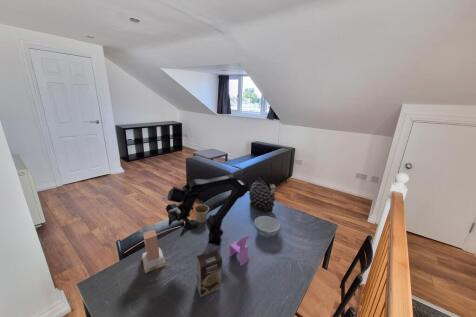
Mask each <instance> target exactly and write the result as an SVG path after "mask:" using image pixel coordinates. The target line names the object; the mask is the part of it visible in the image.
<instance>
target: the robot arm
mask: <svg viewBox="0 0 476 317" xmlns="http://www.w3.org/2000/svg"><path fill="white" fill-rule="evenodd" d="M228 185H231V190H230V194H229V195H228V196H227V198H226V199H225V200H224V202H223V203H222V205H221V206H220V207H219V209H218V210H217V212H216V213H215V214H210V215H209V216H208V218H206V221H205V226H206V228H207V230H208V244H210V245H215V246H220V245H221V243H222V239H223V237H222V236H223V234H224V230H223V228H222V224H223V220H224V218H225V217H227V214H228V213H229V211H231V209H232V207H234V205H235V204H236V202H237V201H238V199H240V198H242V197H244V196H245V195H246V194H247V192H248V191H249V187H248V185H247V184H246V183H245V182H244V181H243V180H241V179H238V178H235V177H234V176H233V175H232V174H227V175H223V176H218V177H212V178H208V179H202V178H199V179H198V178H194V179H191V180H190V181H189V182H188V183H186V184H185V185H184V186H182V188H179V187H177V186H173V187H172V188H171V189H170V190H169V191H168V195H167V201H170V202H173V203H170V204H167V205H166V207H165V210H166V213H167V217H168V226H171V225H172V224H173V222H176V221H177V222H180V221H184V223H183V225H182V228H183V229H182V231H181V232H180V234H179V237H183V236H184V235H185V234H186V233H187V232H188V231H193V230H196V229H198V226H199V224H198V223H199V222H197V220H194V219H193V218H192V219H189V217H190V216H191V214H190V213H191V211H194V205H195V202H196V201H197V200H202V198H201V194H203V193H205V192H206V191H207V190H210V189H214V188H219V187H224V186H228ZM177 203H178V204H177Z"/></svg>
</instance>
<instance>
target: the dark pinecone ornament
mask: <svg viewBox="0 0 476 317" xmlns="http://www.w3.org/2000/svg"><path fill="white" fill-rule="evenodd" d="M275 192H276V184H274V183H270V182H269V181H268V180H265V178H263V177H262V176H258V178H257V180H255V182H253V183H252V184H250V189H249V193H248V195H249V208H250V209H251V210H252V211H254V212H256V213H257V214H259V215H262V216H270V215H271V214H272V213H273V211H274V207H275V201H276V198H275V196H276V195H275Z"/></svg>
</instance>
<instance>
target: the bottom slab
mask: <svg viewBox="0 0 476 317" xmlns="http://www.w3.org/2000/svg"><path fill="white" fill-rule="evenodd" d="M161 252H162V255H163V256H164V254H163V251H162V250H161ZM141 260H142V264H143V265H142V266H143V270H144V273H145V274H146V273H149V272H151V271H154V270H157V269H160V268H162V267H165V266H166V260H165V259H164V262H163V263H161V264H159V265H156V266H154V267H151V268H149V269H146V267H145V263H144V259H143V255H142V256H141Z"/></svg>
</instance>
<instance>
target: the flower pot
mask: <svg viewBox="0 0 476 317" xmlns="http://www.w3.org/2000/svg"><path fill="white" fill-rule="evenodd" d="M193 211H194V213H195V217H196V222H197V223H199V224H202V223H206V221H207V219H208V218H207V217H208V212H209V211H210V207H209V206H208V205H206V204H198V205H195V207H193Z"/></svg>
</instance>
